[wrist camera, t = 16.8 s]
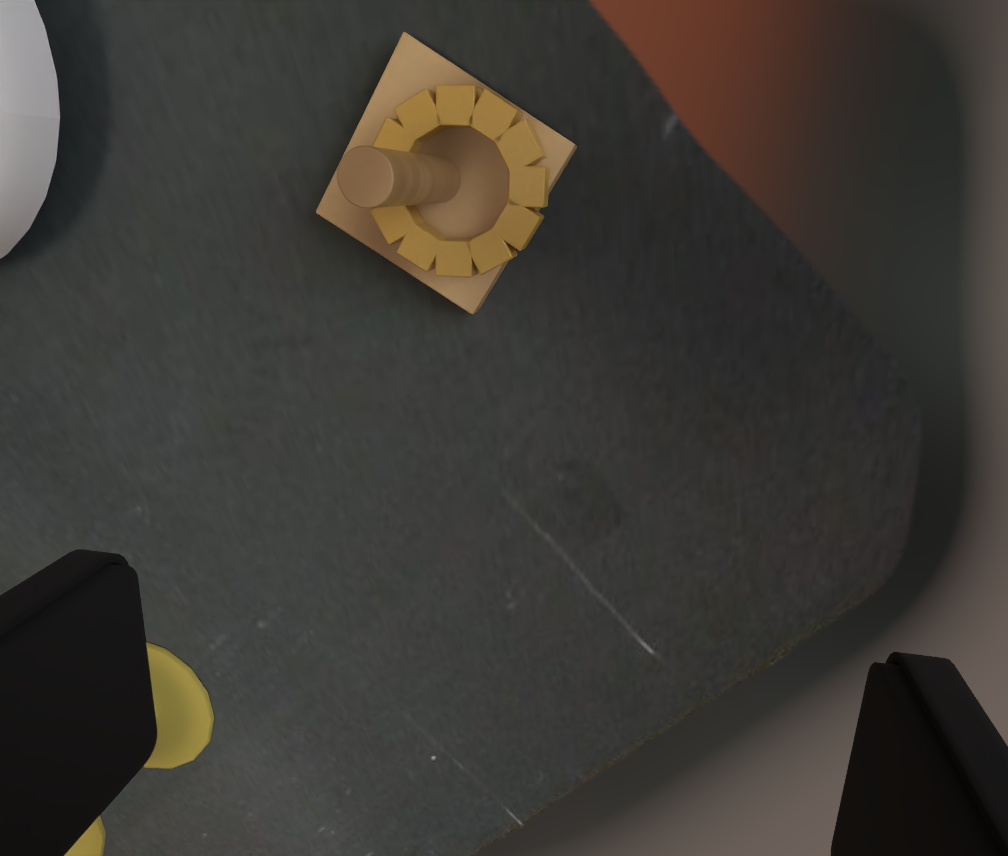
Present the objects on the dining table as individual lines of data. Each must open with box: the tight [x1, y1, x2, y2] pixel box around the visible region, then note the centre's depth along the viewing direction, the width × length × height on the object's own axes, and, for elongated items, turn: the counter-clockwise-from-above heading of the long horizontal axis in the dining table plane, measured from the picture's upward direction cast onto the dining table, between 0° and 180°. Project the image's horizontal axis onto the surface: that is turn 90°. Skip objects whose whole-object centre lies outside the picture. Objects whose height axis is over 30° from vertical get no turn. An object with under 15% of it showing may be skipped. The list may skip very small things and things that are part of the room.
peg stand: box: [316, 32, 577, 314], centre depth 30 cm, size 9×9×12 cm
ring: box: [371, 85, 549, 277], centre depth 34 cm, size 8×8×2 cm
